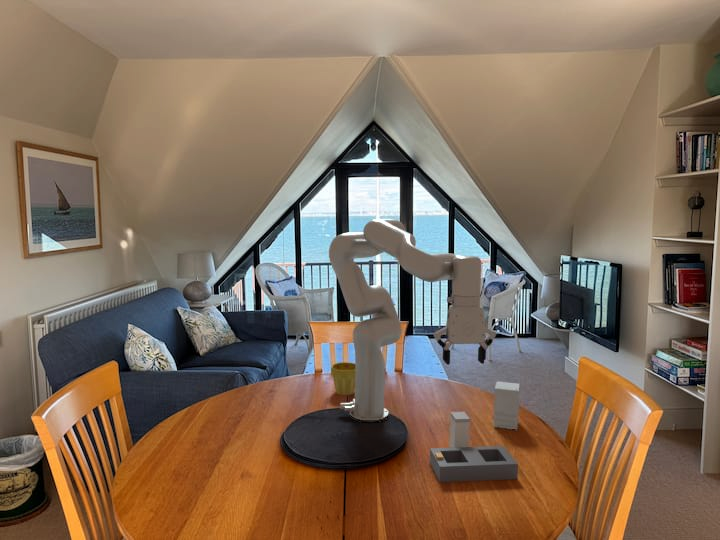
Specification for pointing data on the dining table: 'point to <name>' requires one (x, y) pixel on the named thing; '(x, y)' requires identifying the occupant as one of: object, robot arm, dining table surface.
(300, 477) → the dining table surface
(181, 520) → the dining table surface
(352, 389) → the plant pot
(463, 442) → the plug
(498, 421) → the supplement box
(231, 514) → the dining table surface
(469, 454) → the power strip
